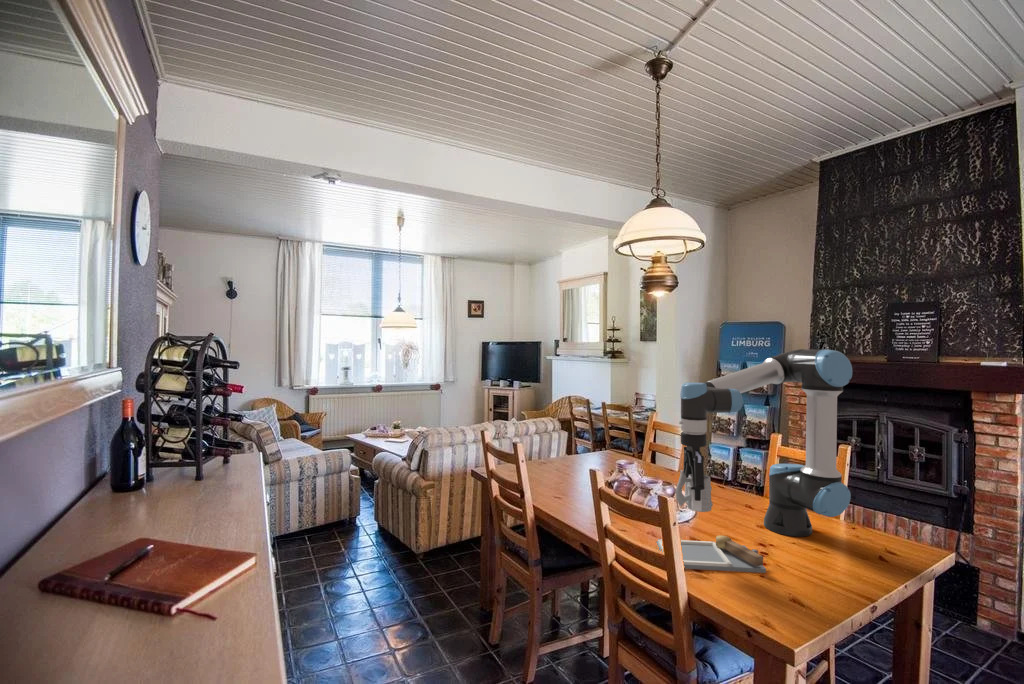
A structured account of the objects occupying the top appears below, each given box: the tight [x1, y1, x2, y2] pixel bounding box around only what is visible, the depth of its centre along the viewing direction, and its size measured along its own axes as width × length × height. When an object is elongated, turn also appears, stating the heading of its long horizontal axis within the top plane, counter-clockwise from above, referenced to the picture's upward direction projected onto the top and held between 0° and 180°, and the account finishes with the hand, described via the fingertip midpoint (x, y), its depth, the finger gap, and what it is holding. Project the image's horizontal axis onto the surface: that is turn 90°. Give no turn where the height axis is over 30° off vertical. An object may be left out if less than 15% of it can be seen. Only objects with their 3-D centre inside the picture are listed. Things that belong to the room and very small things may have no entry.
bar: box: [715, 535, 764, 566], centre depth 147 cm, size 16×4×2 cm, turn 20°
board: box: [655, 538, 767, 574], centre depth 149 cm, size 28×16×4 cm, turn 84°
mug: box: [675, 469, 713, 513], centre depth 149 cm, size 8×12×12 cm, turn 102°
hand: (692, 505), depth 149 cm, fingers closed on mug, 7 cm apart
